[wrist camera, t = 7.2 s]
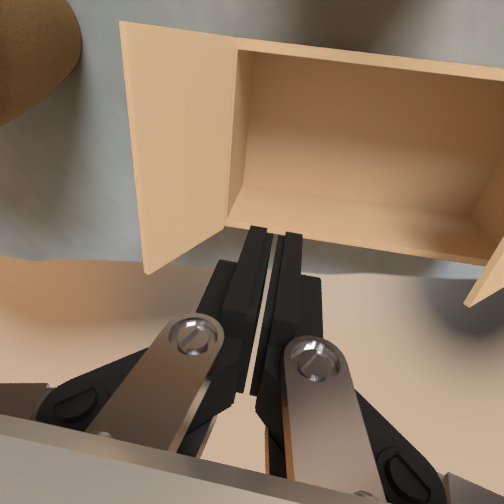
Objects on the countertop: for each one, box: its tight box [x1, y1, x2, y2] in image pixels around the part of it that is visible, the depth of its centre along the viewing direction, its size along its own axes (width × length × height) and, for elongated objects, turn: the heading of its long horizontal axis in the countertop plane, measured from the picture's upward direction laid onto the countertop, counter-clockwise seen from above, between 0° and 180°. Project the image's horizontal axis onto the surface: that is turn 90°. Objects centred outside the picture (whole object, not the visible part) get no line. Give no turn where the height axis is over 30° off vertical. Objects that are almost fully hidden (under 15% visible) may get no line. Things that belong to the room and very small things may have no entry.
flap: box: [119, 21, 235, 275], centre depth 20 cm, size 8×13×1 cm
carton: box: [224, 37, 504, 267], centre depth 26 cm, size 24×13×9 cm, turn 84°
